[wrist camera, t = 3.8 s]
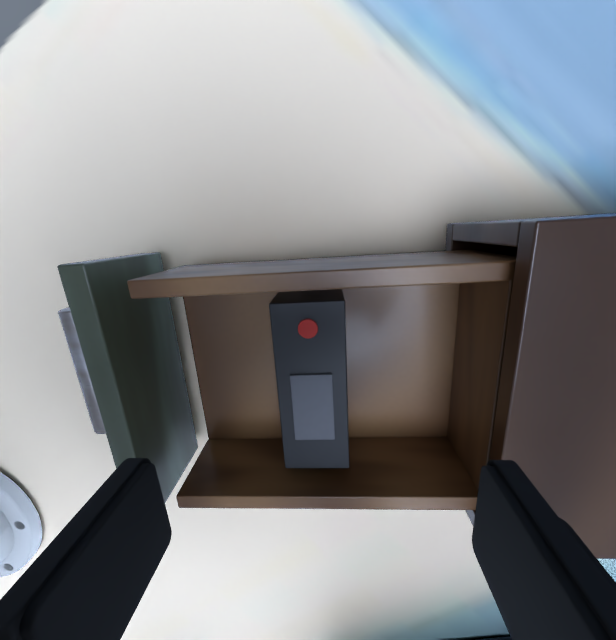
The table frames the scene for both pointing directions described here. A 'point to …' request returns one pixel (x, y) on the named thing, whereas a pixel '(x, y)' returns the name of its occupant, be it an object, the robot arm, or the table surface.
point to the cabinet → (559, 364)
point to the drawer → (260, 376)
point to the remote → (311, 377)
